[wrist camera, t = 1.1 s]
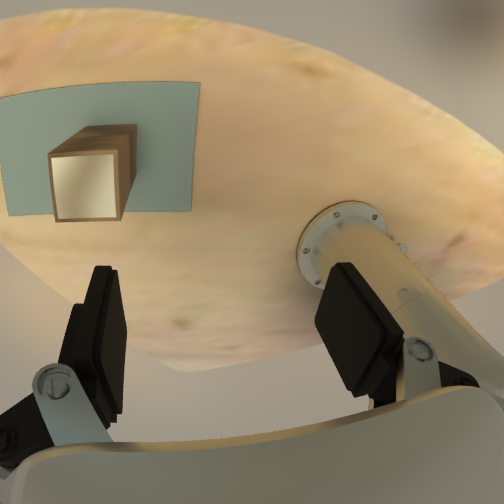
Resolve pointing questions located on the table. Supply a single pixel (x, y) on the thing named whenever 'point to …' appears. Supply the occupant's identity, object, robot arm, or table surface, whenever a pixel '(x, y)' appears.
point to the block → (93, 173)
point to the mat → (92, 114)
